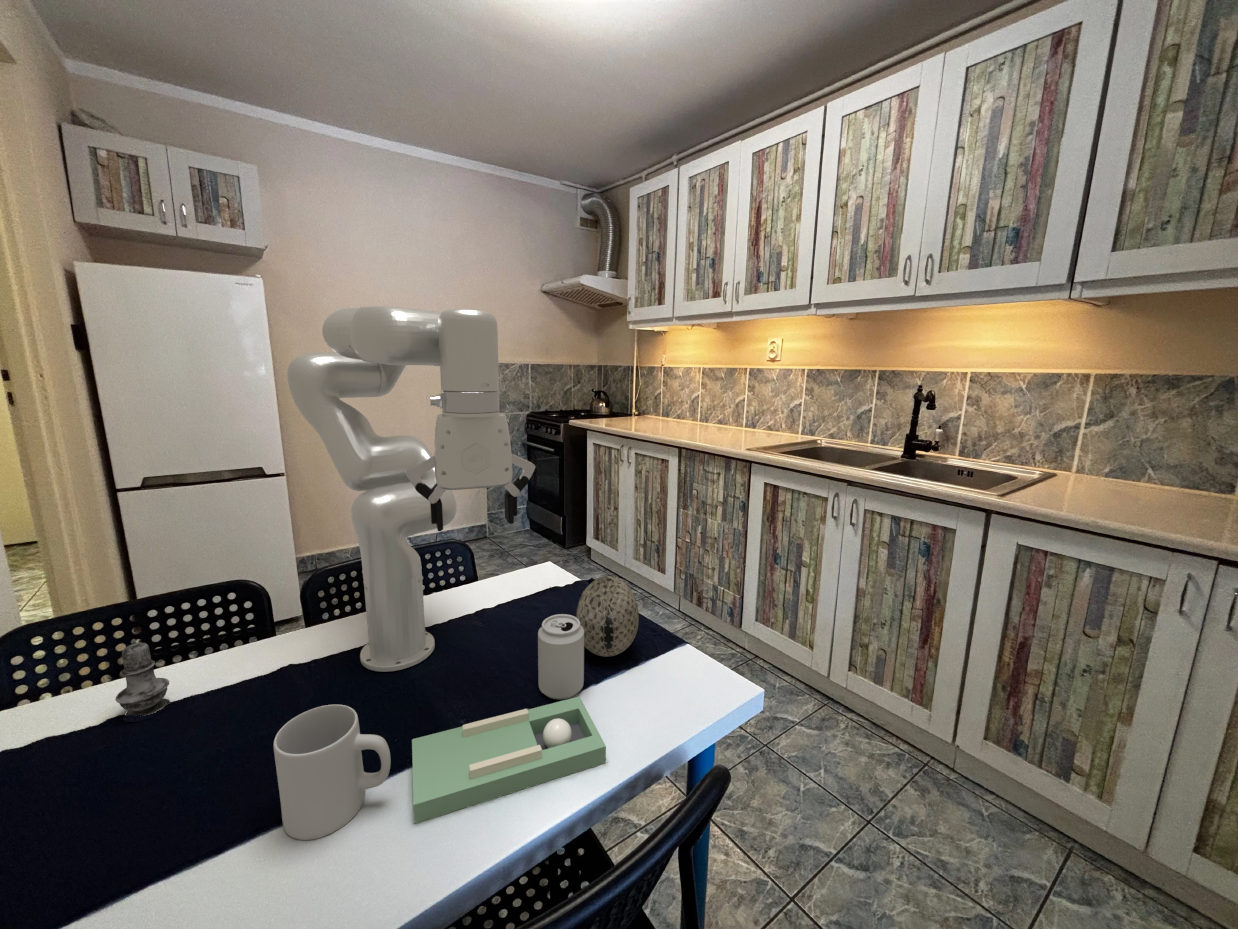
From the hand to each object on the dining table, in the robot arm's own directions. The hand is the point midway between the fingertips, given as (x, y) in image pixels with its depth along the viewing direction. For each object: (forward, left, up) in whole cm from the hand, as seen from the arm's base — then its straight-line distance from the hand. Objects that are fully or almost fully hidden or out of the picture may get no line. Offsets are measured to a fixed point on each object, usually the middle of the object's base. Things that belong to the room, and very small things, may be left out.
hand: (475, 524), depth 70 cm
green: (+11, +2, -30) cm, 32 cm away
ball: (+12, +9, -28) cm, 32 cm away
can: (-1, +13, -31) cm, 33 cm away
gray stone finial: (-19, -47, -31) cm, 59 cm away
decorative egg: (-8, +24, -31) cm, 40 cm away
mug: (+11, -18, -31) cm, 37 cm away
